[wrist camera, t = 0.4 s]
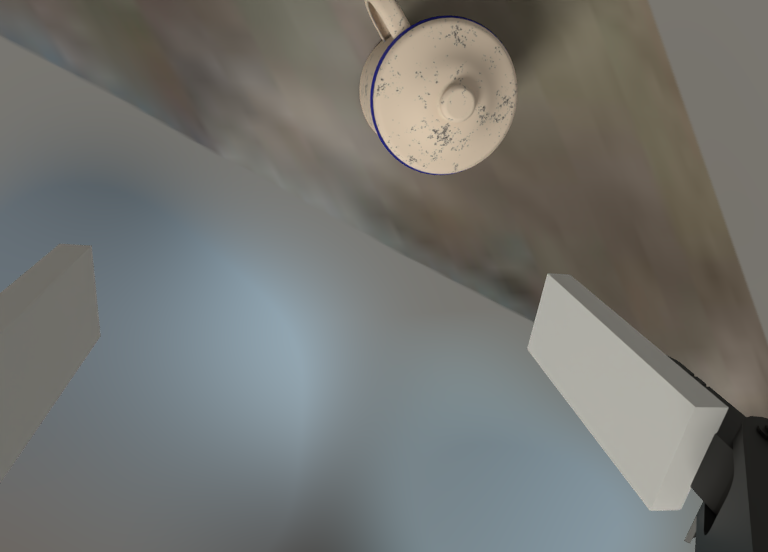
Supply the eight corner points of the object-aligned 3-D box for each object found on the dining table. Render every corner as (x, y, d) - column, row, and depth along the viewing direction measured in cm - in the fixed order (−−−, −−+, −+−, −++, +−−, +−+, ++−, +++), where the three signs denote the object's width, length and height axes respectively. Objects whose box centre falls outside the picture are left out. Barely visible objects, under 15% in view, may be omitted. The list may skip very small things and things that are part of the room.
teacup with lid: (494, 108, 40) (564, 127, 30) (397, 174, 41) (431, 216, 31) (415, -45, 35) (466, -87, 25) (307, 34, 36) (311, 26, 26)
